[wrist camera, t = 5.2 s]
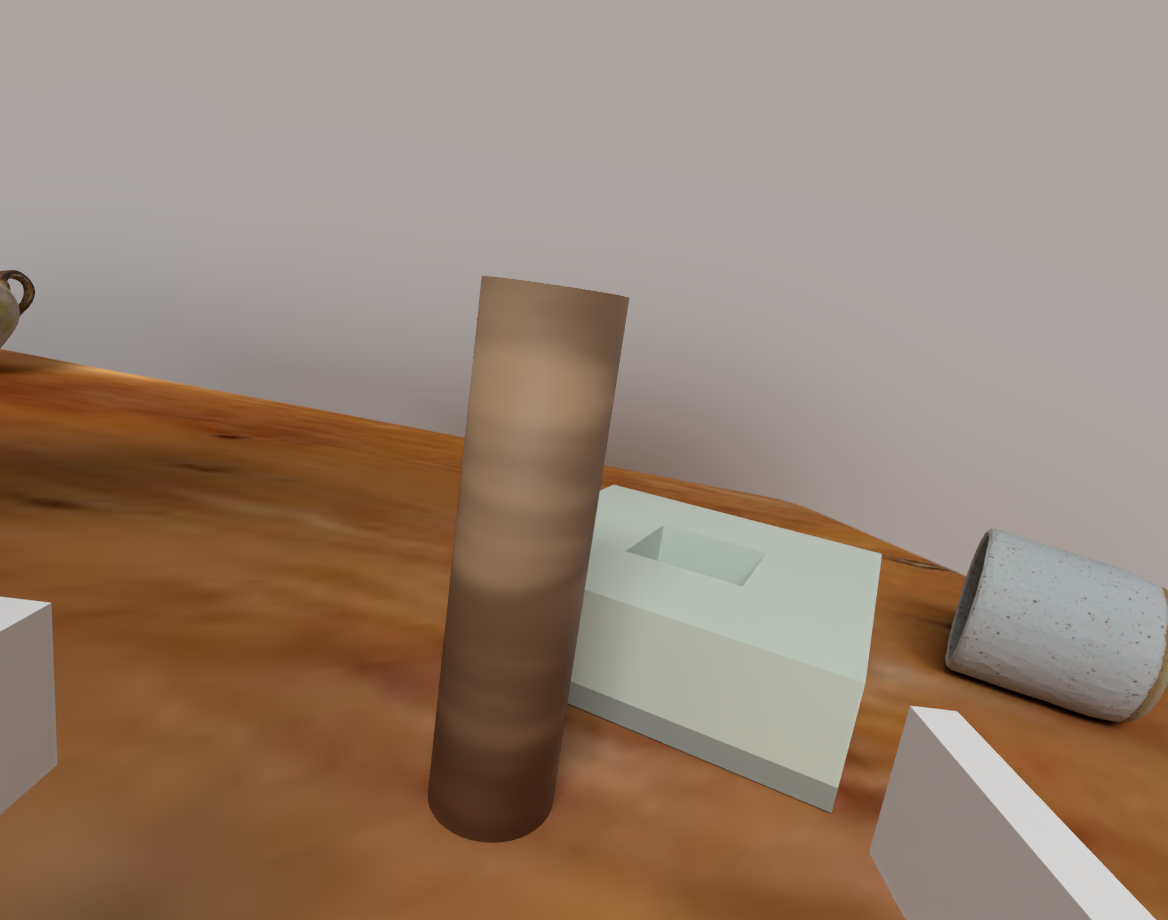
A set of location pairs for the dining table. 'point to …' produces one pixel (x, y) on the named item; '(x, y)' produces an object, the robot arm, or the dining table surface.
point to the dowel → (521, 550)
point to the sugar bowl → (12, 302)
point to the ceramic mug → (1061, 629)
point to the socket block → (726, 639)
